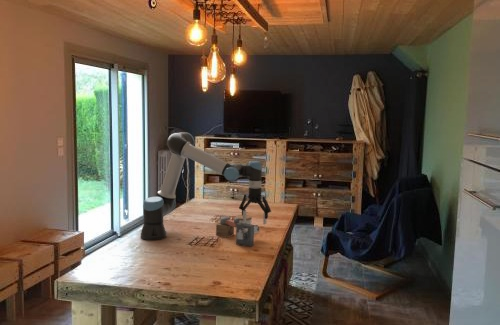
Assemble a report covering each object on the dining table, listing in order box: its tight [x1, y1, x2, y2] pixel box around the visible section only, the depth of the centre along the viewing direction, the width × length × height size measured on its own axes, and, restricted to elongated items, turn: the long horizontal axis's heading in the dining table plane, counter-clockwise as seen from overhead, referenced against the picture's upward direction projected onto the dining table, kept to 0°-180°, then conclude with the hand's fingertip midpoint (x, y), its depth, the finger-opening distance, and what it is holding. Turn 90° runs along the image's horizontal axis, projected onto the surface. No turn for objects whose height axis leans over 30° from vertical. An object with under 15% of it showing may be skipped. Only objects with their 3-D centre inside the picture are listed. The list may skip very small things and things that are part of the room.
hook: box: [237, 224, 260, 240], centre depth 259 cm, size 20×4×6 cm, turn 152°
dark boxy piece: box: [235, 223, 255, 248], centre depth 256 cm, size 4×10×12 cm, turn 62°
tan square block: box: [215, 222, 235, 238], centre depth 275 cm, size 8×8×7 cm
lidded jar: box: [234, 214, 253, 230], centre depth 292 cm, size 11×11×9 cm
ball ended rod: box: [219, 216, 239, 228], centre depth 270 cm, size 16×6×5 cm, turn 39°
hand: (254, 222), depth 265 cm, fingers open, 13 cm apart
